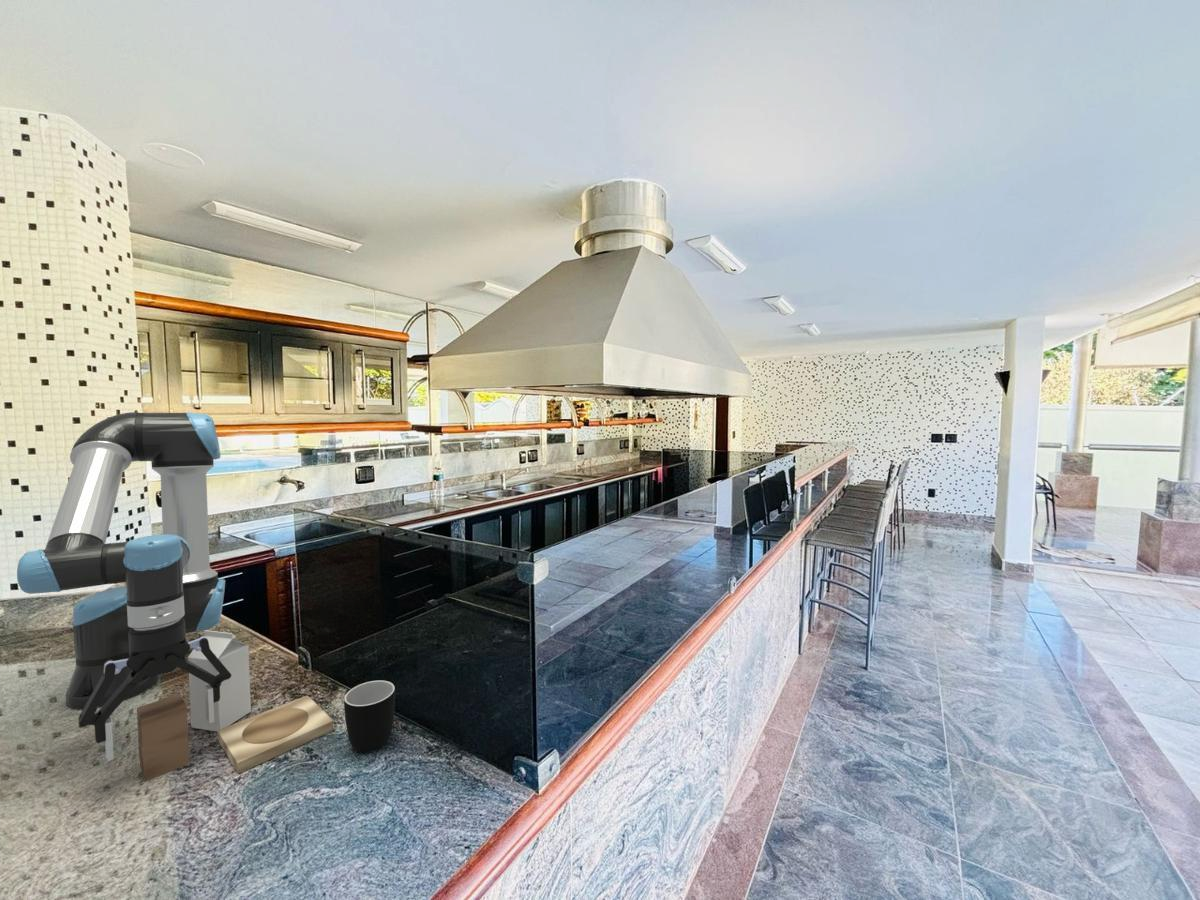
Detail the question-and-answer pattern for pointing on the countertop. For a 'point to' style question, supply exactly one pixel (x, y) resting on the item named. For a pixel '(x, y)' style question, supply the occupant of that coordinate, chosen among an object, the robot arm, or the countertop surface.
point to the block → (162, 736)
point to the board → (273, 732)
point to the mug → (369, 715)
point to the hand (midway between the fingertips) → (162, 737)
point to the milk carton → (231, 690)
